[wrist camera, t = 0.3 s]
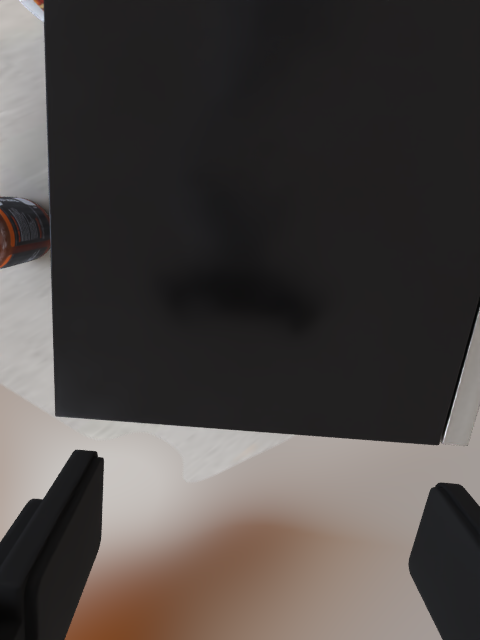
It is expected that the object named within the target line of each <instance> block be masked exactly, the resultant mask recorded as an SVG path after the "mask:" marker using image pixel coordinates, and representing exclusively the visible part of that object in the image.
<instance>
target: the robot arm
mask: <svg viewBox="0 0 480 640" xmlns="http://www.w3.org/2000/svg"><path fill="white" fill-rule="evenodd" d="M103 471H104V459H103V458H101V457H98V455H97V452H96V451H85V450H75V451H74V452H73V453H72V455H71V456H70V458H69V460H68V461H67V463H66V464H65V466H64V467H63V469H62V471H61V472H60V474H59V475H58V477H57V478H56V480H55V481H54V483H53V485H52V486H51V488H50V489H49V491H48V493H47V494H46V496H45V497H44V499H43V500H42V499H32V500H30V501H29V502H28V503H27V504H26V505H25V507H24V508H23V510H22V511H21V513H20V514H19V516H18V517H17V519H16V520H15V522H14V523H13V525H12V526H11V527H10V529H9V530H8V532H7V533H6V535H5V536H4V538H3V539H2V541H1V542H0V640H64V639H65V637H66V634H67V631H68V629H69V626H70V624H71V621H72V618H73V616H74V613H75V610H76V608H77V605H78V603H79V600H80V597H81V595H82V592H83V589H84V587H85V584H86V581H87V578H88V576H89V574H90V571H91V568H92V566H93V563H94V561H95V558H96V555H97V553H98V550H99V546H100V541H101V530H102V501H103ZM409 571H410V574H411V576H412V578H413V580H414V582H415V584H416V586H417V589H418V591H419V593H420V594H421V597H422V599H423V601H424V602H425V605H426V607H427V609H428V611H429V613H430V615H431V617H432V619H433V621H434V623H435V625H436V627H437V629H438V631H439V633H440V635H441V637H442V639H443V640H480V506H479V505H478V504H477V503H476V502H475V500H474V499H473V498H472V497H471V496H470V494H469V493H468V492H467V491H466V490H465V488H463V486H461V485H459V484H451V483H438V484H437V485H436V486H435V487H433V488H431V490H430V492H429V496H428V499H427V502H426V505H425V509H424V512H423V516H422V519H421V522H420V525H419V528H418V532H417V535H416V538H415V542H414V545H413V548H412V551H411V555H410V558H409Z"/></svg>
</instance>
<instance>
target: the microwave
mask: <svg viewBox="0 0 480 640" xmlns="http://www.w3.org/2000/svg"><path fill="white" fill-rule="evenodd" d="M44 35H45V70H46V105H47V140H48V175H49V209H50V244H51V279H52V314H53V349H54V384H55V416H58V417H71V418H84V419H97V420H111V421H124V422H137V423H150V424H163V425H176V426H190V427H203V428H216V429H229V430H242V431H255V432H269V433H282V434H295V435H308V436H322V437H335V438H349V439H362V440H374V441H387V442H401V443H414V444H428V445H439V443H440V439H441V436H442V432H443V428H444V425H445V421H446V418H447V414H448V410H449V407H450V403H451V399H452V396H453V392H454V388H455V385H456V381H457V378H458V374H459V370H460V367H461V363H462V359H463V356H464V352H465V348H466V345H467V341H468V337H469V334H470V330H471V327H472V323H473V319H474V316H475V312H476V308H477V305H478V301H479V297H480V0H44Z"/></svg>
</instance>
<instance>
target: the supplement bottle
mask: <svg viewBox="0 0 480 640" xmlns="http://www.w3.org/2000/svg"><path fill="white" fill-rule="evenodd" d="M50 246H51V244H50V218H49V216H48V215H47V213H46V212H45V210H44V209H42V208H41V207H40V206H39V205H37V204H36V203H34V202H32V201H30V200H28V199H24V198H17V197H0V269H2V268H6V267H10V266H13V265H17V264H21V263H24V262H28V261H31V260H34V259H37V258H39V257H41V256H42V255H44V254H45V253H46V252H47V251H48V250H49V248H50Z"/></svg>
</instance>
